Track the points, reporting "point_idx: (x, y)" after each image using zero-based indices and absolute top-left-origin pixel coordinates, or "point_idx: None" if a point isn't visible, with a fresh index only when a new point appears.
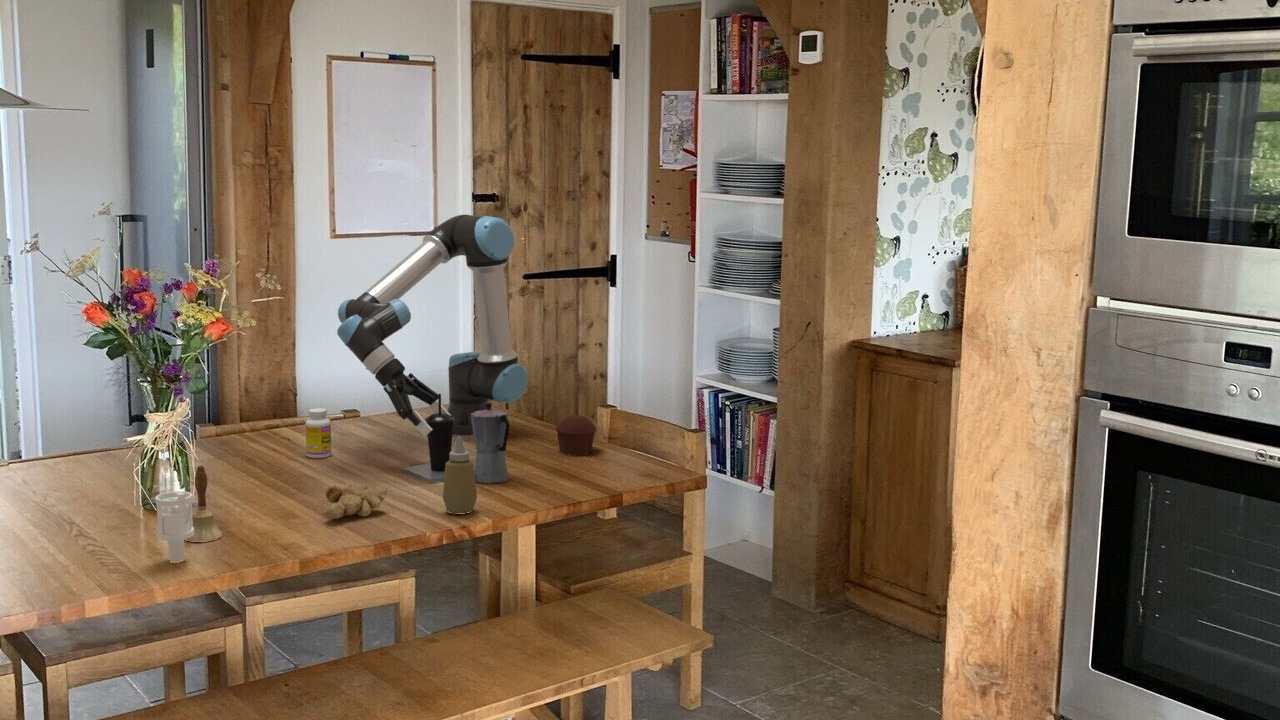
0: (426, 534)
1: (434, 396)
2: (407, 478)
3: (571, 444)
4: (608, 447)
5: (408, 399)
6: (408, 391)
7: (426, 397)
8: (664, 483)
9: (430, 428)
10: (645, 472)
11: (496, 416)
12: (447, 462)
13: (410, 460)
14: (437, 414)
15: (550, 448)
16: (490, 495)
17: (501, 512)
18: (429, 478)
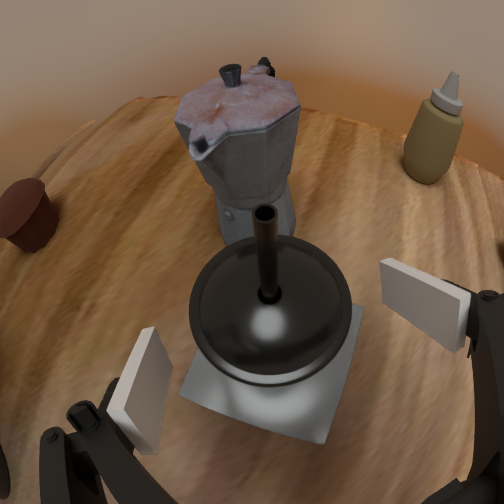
0: (478, 165)
1: (87, 436)
2: (363, 388)
3: (49, 210)
4: None
5: (500, 361)
6: (456, 480)
7: (149, 475)
8: (162, 99)
9: (391, 260)
10: (124, 125)
11: (266, 72)
12: (461, 120)
13: (212, 497)
14: (292, 292)
15: (28, 272)
16: (336, 178)
17: (377, 137)
18: (358, 316)
